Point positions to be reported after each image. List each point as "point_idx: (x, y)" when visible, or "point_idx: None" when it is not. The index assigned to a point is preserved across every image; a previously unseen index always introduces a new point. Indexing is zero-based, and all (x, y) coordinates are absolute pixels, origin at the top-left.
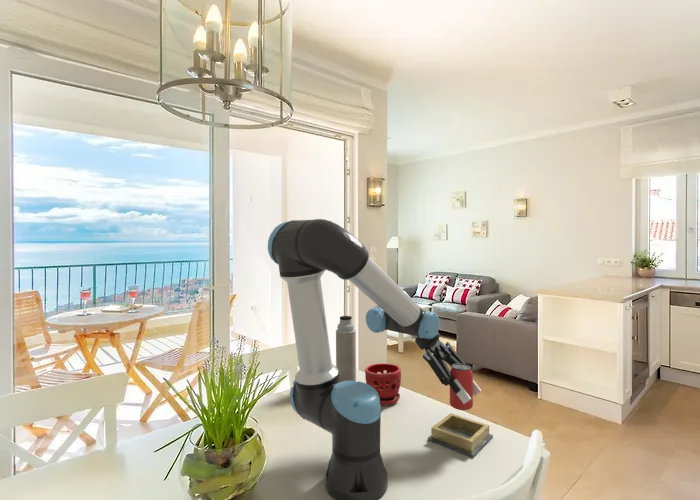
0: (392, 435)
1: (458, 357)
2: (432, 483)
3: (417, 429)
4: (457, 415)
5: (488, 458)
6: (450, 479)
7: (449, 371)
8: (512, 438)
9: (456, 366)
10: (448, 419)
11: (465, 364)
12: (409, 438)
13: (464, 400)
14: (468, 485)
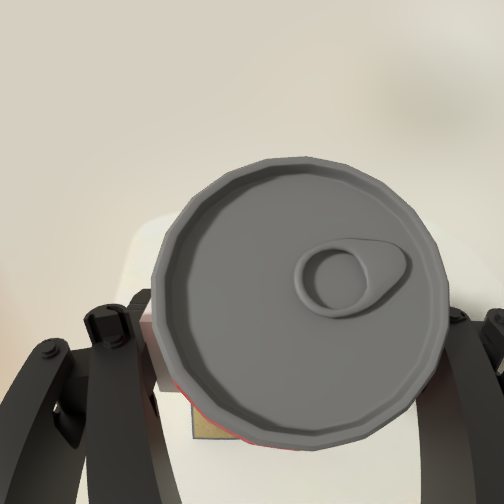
0: (394, 501)
1: (7, 461)
2: (477, 291)
3: (313, 488)
4: (194, 408)
5: None
6: (446, 272)
7: (462, 368)
8: (160, 242)
9: (327, 371)
10: None
11: (166, 280)
12: (379, 465)
13: None
14: (432, 236)
